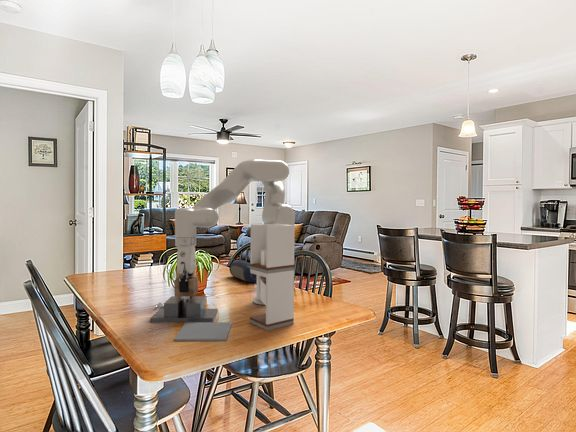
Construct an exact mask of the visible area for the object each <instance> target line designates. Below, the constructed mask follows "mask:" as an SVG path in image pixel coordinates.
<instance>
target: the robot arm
mask: <svg viewBox="0 0 576 432" xmlns="http://www.w3.org/2000/svg"><path fill="white" fill-rule="evenodd" d="M289 174H290V168H289V165H288V164H287V163H286V162H285V161H283V160H276V159H274V160H273V159H271V160H270V159H248V160H243V161H241V162H239V163H238V164H237V165H236V166H235V167H234V169H232V171H231V172H230V173H229V174H228V175H227V176H226V177H225V178H224V179H223V180H222V181H221V182H220V183H219V184H218V185H217V186H215V187H214V188H212V189H211V190H210V191H209V192H208V193H206V194H204V195H203V196H202V197H201V198H200V199H199V200H198V201H197V202H196V203H195V204H194V205H193V206H192V207H191V208H188V207H187V208H185V207H184V208H182V207H181V208H176V209H175V211H174V236H175V237H174V241H175V243H174V245H175V247H177V252H176V253H177V255H176V270H177V269H178V273H179V275H180V276H179V292H188V291H189V281H188V276H193V271H195V272H196V271H197V259H196V258H197V255H196V246H197V227H198V228H205V229H207V228H212V227H215V225H217V224H218V222H219V219H220V218H219V217H220V216H219V213H218V212H217V209H219V208H220V207H221V206H223V205H225V204H228V203H231V202H232V201H234V200H236V199H237V198H238V197H239V196H240V195H241V194H242V192H244V190H245V189H246V188H247V187H248V186H249V184H251V183H252V182H261V183H262V185H263V187H264V190H265V191H264V192H265V194H264V201H263V207H262V212H261V213H262V215H261V220H262V222H263V224H285V225H295V223H296V215H295V211H294V208H293V207H292V206H291V205H289V204H286V203H285V196H286V194H285V193H286V190H285V186H284V184H283V181H285V180H286V179H287V178H288V176H289ZM184 272H185V273H184ZM185 276H186V277H185ZM252 302H253V303H254V304H255V305H256V304H257V305H262V306H266V305H265V304H264V303H263V302H262V301H261V298H260V276H259V275H257V282H256V296H255V297H253V298H252Z"/></svg>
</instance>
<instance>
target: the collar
mask: <svg viewBox="0 0 576 432" xmlns="http://www.w3.org/2000/svg"><path fill="white" fill-rule="evenodd" d="M185 277H186V276H185ZM173 281H174V296H175V297H183V296H196V295H197V294H198V292H199V276H198V275H195V276H188V281H189V291H188V292H179V277H178V278H177V277H176V278H175V279H174V280H173Z"/></svg>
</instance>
